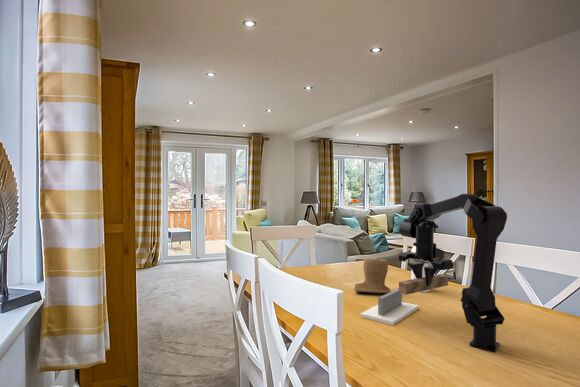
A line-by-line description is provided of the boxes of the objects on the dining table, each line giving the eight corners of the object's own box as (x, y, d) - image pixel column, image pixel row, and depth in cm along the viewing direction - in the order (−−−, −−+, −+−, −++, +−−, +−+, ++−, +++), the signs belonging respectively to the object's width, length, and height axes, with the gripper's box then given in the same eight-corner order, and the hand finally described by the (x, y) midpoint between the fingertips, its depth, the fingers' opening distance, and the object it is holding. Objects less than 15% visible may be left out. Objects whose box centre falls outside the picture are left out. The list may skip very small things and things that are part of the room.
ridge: (393, 325, 114) (393, 304, 114) (360, 316, 122) (360, 296, 122) (418, 308, 130) (418, 289, 130) (388, 302, 138) (388, 284, 138)
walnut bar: (405, 294, 114) (406, 284, 114) (398, 292, 117) (398, 281, 117) (448, 285, 126) (448, 275, 126) (440, 283, 128) (440, 274, 128)
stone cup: (388, 288, 157) (388, 255, 157) (391, 296, 146) (391, 260, 146) (354, 287, 160) (354, 254, 160) (354, 294, 149) (354, 259, 149)
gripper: (463, 242, 117) (463, 288, 117) (418, 235, 133) (417, 276, 133) (442, 244, 112) (442, 293, 112) (397, 237, 128) (397, 280, 128)
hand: (424, 285), depth 121 cm, fingers closed on walnut bar, 3 cm apart
